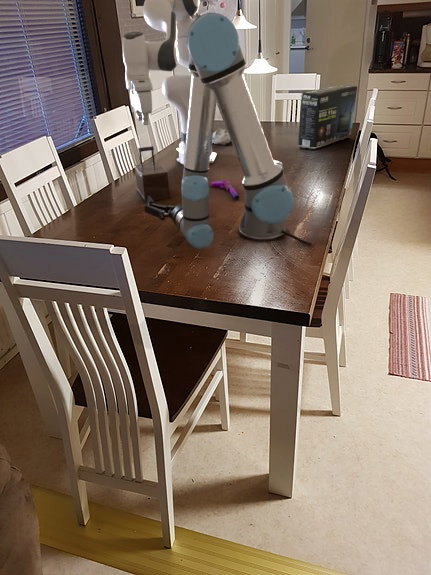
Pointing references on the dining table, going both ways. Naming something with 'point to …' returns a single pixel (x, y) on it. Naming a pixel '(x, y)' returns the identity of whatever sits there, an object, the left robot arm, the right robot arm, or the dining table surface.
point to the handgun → (227, 186)
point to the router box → (326, 115)
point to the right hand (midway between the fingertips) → (168, 197)
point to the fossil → (220, 136)
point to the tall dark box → (149, 165)
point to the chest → (153, 186)
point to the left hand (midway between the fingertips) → (142, 122)
